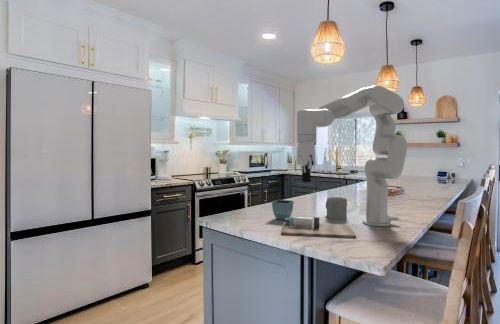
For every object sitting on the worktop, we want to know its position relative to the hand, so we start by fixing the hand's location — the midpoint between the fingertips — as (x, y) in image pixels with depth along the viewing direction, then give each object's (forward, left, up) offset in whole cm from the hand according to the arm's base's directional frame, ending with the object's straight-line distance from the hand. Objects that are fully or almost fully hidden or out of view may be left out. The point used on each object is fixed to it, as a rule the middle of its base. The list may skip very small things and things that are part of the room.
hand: (306, 181), depth 135 cm
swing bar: (+2, -5, -20) cm, 21 cm away
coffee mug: (-16, -33, -22) cm, 42 cm away
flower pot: (+11, -24, -22) cm, 34 cm away
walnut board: (-5, -3, -22) cm, 22 cm away
